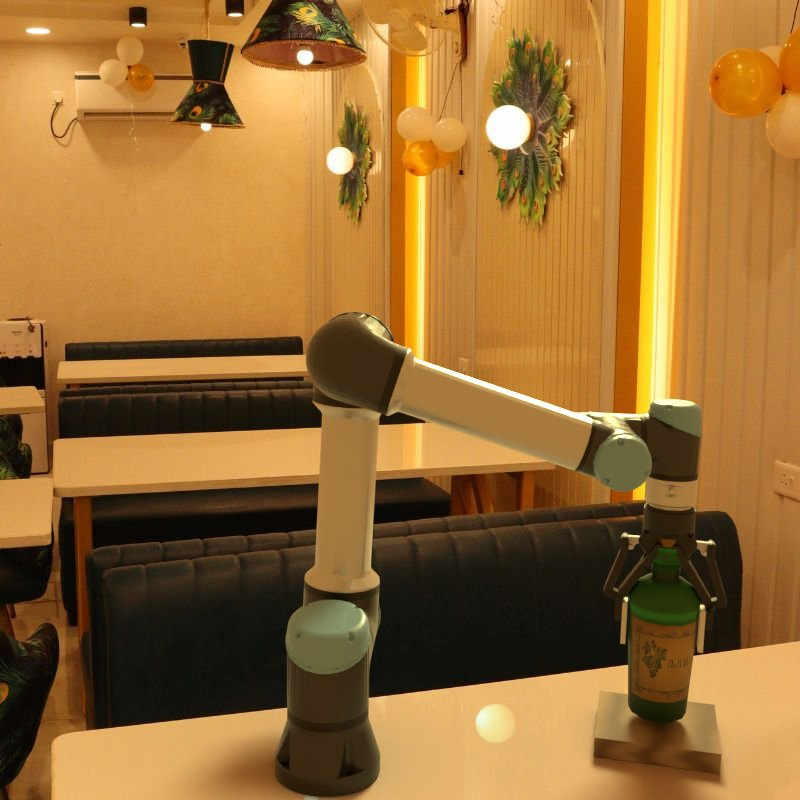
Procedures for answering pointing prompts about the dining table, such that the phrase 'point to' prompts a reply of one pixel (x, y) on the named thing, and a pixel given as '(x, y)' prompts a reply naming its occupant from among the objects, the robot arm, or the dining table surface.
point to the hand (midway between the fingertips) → (661, 644)
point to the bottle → (661, 639)
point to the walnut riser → (657, 736)
